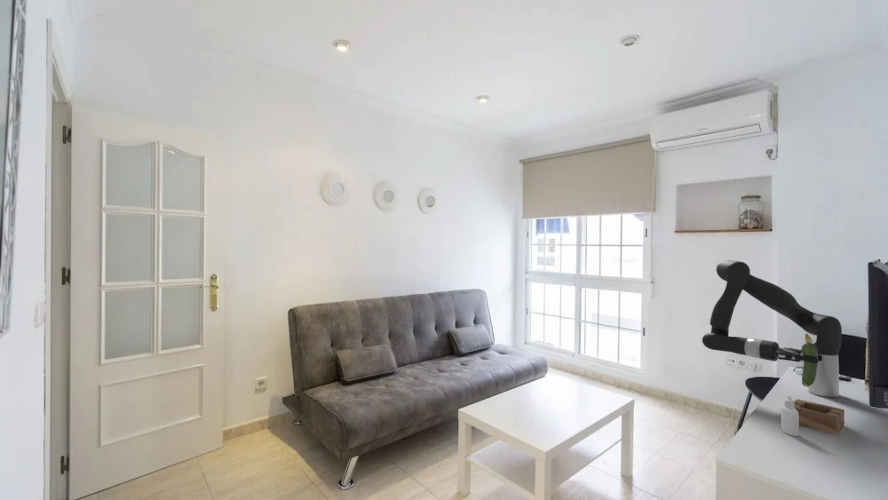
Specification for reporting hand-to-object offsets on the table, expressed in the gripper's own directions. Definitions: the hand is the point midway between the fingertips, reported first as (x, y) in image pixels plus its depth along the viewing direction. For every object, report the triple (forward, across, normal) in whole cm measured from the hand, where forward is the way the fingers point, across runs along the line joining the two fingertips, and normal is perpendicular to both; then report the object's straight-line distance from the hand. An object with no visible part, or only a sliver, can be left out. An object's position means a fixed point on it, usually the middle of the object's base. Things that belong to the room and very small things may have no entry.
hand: (819, 359), depth 139 cm
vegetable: (-3, 0, +11) cm, 12 cm away
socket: (+1, -10, +21) cm, 23 cm away
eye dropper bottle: (-2, -26, +21) cm, 33 cm away
